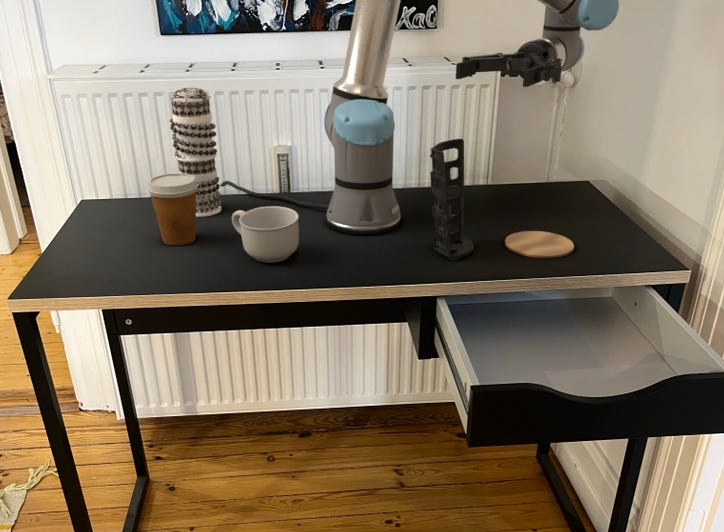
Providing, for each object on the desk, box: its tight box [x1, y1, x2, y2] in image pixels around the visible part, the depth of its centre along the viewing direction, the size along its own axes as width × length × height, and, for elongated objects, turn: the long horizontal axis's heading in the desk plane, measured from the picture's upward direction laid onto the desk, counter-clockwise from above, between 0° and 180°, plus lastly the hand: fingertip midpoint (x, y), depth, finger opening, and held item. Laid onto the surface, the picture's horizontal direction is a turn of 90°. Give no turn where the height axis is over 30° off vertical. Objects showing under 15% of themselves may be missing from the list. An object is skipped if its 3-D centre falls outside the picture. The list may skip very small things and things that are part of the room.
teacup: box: [231, 205, 300, 264], centre depth 141 cm, size 14×11×8 cm
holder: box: [429, 138, 475, 261], centre depth 140 cm, size 11×8×20 cm
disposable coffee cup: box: [146, 172, 198, 246], centre depth 147 cm, size 10×10×12 cm
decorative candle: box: [169, 87, 222, 218], centre depth 159 cm, size 9×9×25 cm
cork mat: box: [504, 230, 575, 259], centre depth 147 cm, size 13×13×1 cm
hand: (490, 75), depth 138 cm, fingers open, 13 cm apart
